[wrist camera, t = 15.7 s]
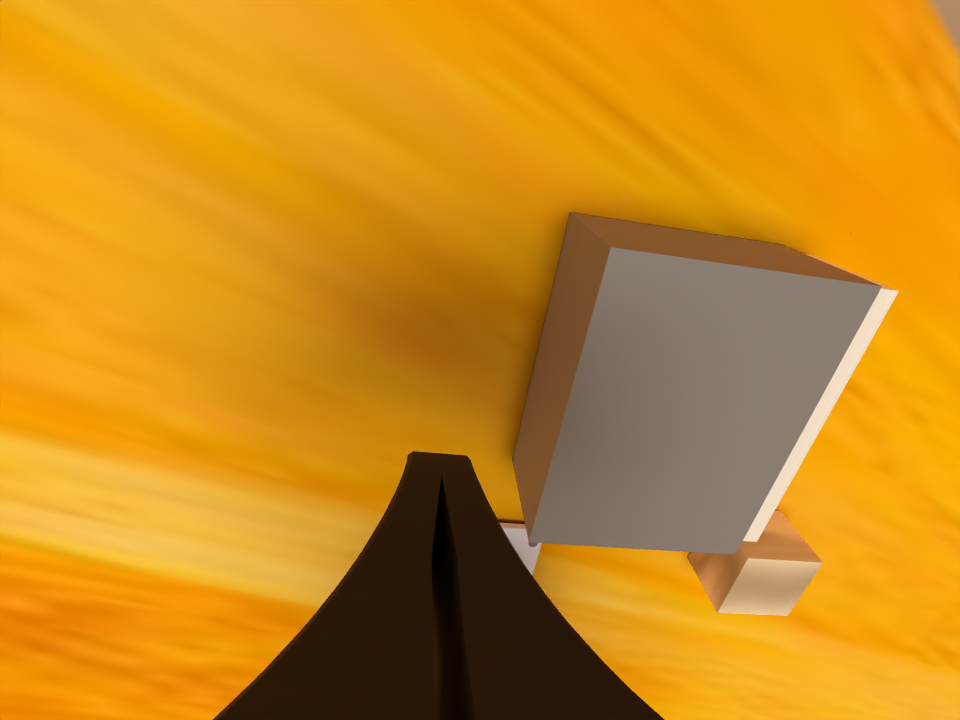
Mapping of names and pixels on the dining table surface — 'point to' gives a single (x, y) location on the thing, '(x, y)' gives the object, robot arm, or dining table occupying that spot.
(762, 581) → the pedestal
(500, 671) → the robot arm
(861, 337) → the tray
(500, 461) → the dining table surface
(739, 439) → the block
